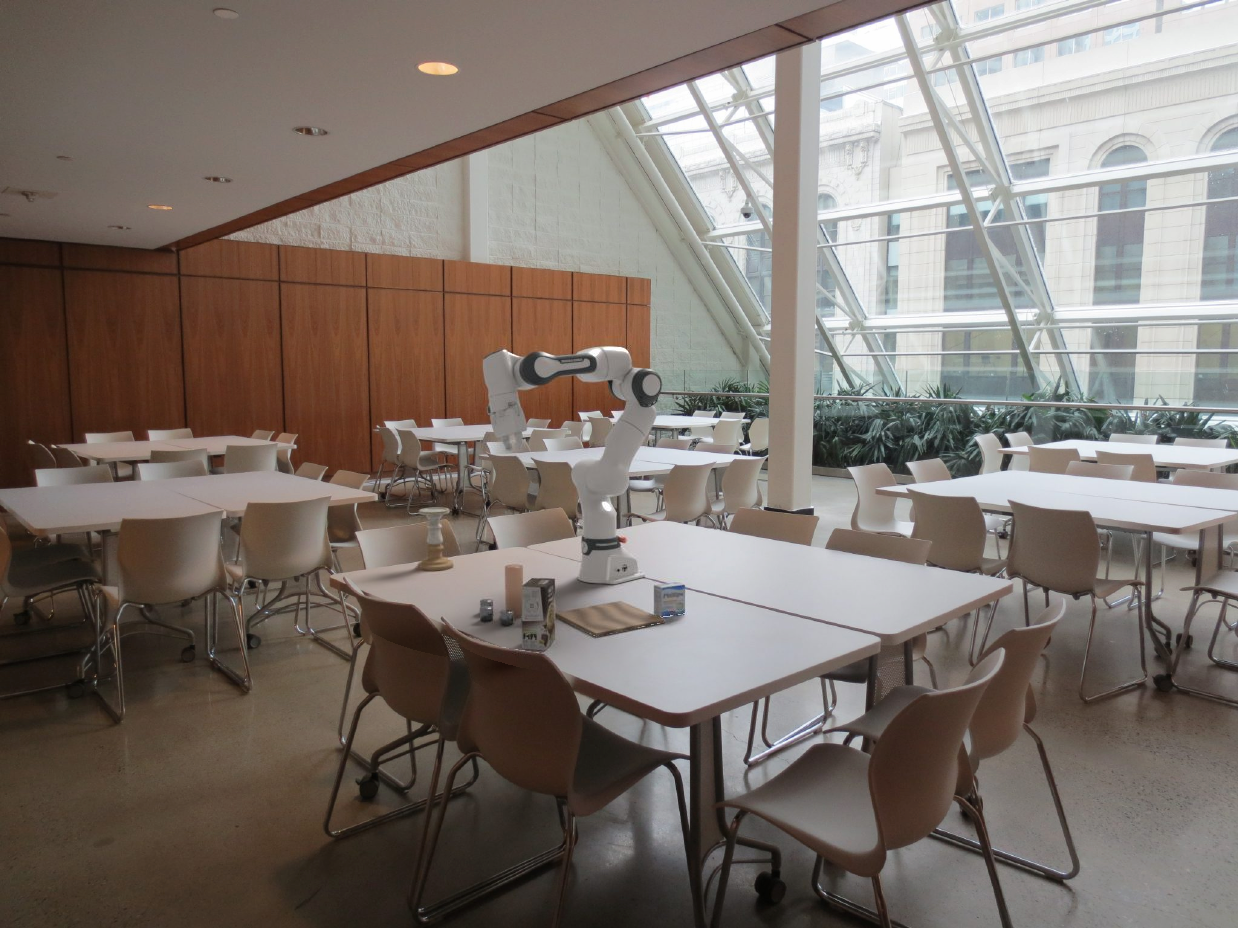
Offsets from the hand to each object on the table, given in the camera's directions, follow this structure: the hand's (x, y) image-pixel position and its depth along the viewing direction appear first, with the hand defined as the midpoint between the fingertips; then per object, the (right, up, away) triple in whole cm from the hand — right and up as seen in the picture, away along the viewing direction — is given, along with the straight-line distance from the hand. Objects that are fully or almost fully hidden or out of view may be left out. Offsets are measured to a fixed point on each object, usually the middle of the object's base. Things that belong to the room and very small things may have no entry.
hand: (514, 449), depth 256 cm
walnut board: (+29, -47, -21) cm, 59 cm away
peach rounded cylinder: (+2, -47, -17) cm, 50 cm away
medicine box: (+46, -47, -16) cm, 67 cm away
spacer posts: (+2, -47, -17) cm, 50 cm away
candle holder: (-32, -40, +40) cm, 65 cm away
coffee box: (+11, -50, -42) cm, 66 cm away
